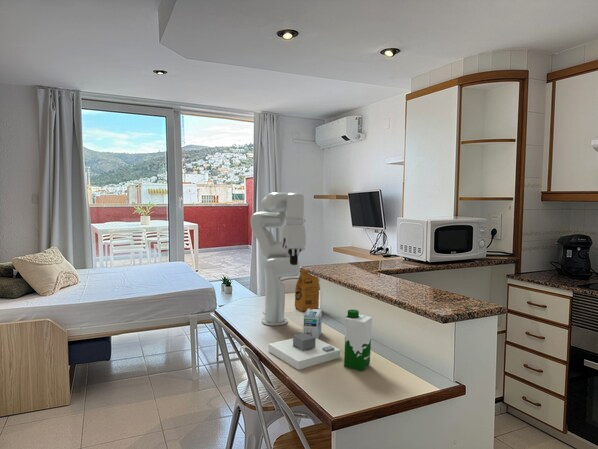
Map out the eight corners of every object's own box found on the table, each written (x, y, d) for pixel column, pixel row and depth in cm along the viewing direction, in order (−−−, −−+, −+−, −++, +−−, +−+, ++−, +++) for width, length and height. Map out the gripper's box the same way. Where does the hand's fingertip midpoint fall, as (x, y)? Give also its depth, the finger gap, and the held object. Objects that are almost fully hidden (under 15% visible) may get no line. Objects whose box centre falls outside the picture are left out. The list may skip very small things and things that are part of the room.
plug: (292, 352, 153) (293, 335, 153) (305, 348, 157) (305, 332, 157) (302, 357, 148) (303, 340, 148) (315, 354, 152) (315, 337, 151)
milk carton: (350, 358, 149) (352, 307, 148) (373, 364, 145) (375, 311, 143) (340, 367, 142) (342, 312, 141) (363, 373, 137) (365, 317, 136)
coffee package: (292, 307, 219) (293, 268, 217) (311, 305, 225) (312, 267, 223) (301, 312, 210) (302, 271, 209) (320, 309, 216) (321, 269, 215)
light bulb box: (318, 340, 168) (318, 315, 168) (302, 339, 170) (303, 314, 169) (321, 332, 179) (322, 309, 178) (307, 331, 180) (307, 307, 179)
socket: (268, 351, 155) (268, 341, 155) (308, 341, 167) (308, 332, 166) (298, 369, 139) (298, 359, 138) (340, 357, 151) (340, 347, 150)
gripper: (303, 221, 176) (302, 262, 177) (275, 221, 167) (274, 264, 168) (313, 222, 170) (312, 264, 171) (285, 222, 161) (284, 267, 162)
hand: (293, 264), depth 169 cm, fingers closed
